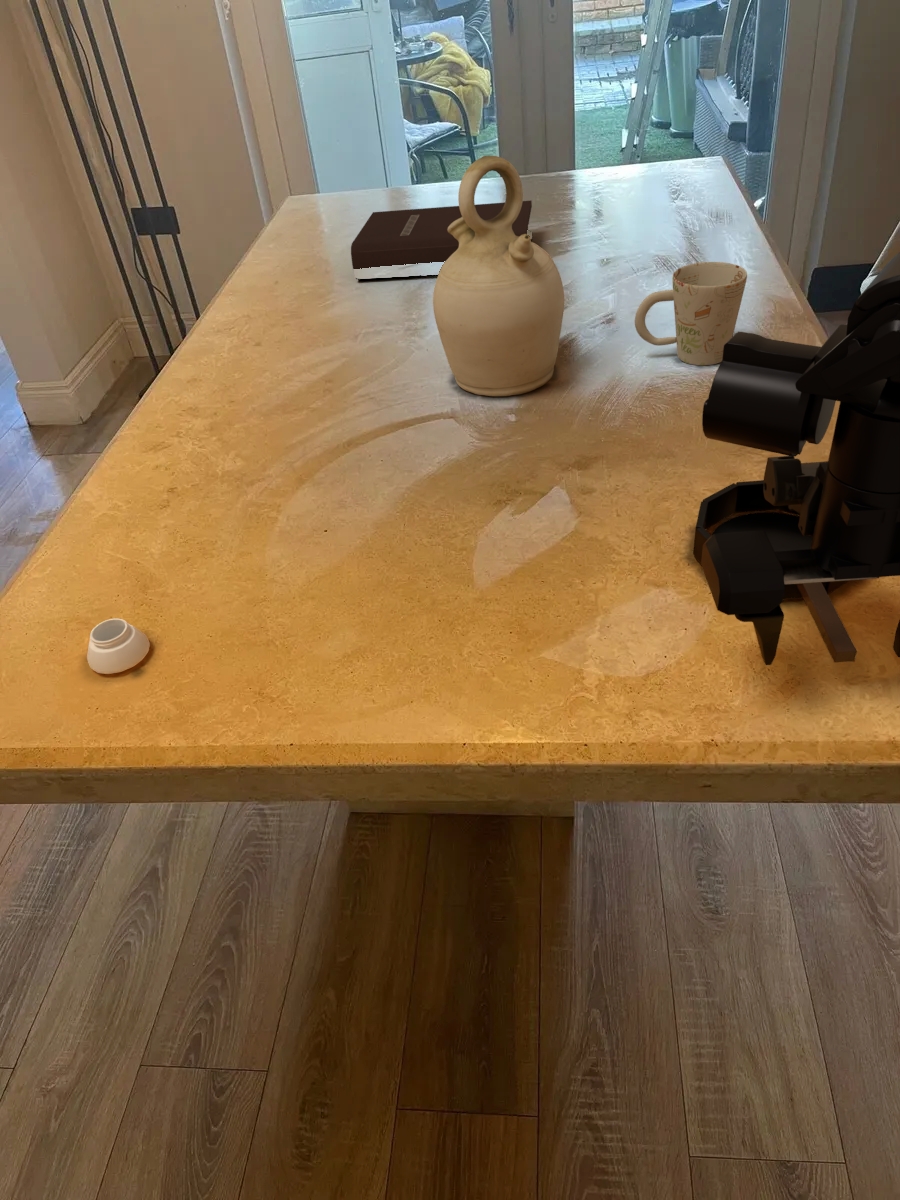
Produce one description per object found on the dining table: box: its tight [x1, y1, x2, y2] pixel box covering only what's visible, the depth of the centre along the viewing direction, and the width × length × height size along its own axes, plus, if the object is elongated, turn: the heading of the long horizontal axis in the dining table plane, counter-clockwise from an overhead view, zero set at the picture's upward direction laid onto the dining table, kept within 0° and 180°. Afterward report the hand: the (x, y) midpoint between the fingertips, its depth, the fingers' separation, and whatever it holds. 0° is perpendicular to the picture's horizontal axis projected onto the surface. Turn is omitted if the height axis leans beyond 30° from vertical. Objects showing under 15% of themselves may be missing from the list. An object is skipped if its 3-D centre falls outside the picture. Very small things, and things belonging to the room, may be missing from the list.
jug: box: [432, 155, 565, 397], centre depth 98 cm, size 15×16×25 cm
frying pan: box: [692, 479, 858, 663], centre depth 68 cm, size 23×14×4 cm, turn 179°
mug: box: [634, 261, 748, 366], centre depth 102 cm, size 8×13×10 cm, turn 89°
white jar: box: [86, 617, 151, 675], centre depth 70 cm, size 5×3×5 cm
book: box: [350, 200, 533, 270], centre depth 142 cm, size 28×20×6 cm
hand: (831, 657), depth 61 cm, fingers open, 9 cm apart
